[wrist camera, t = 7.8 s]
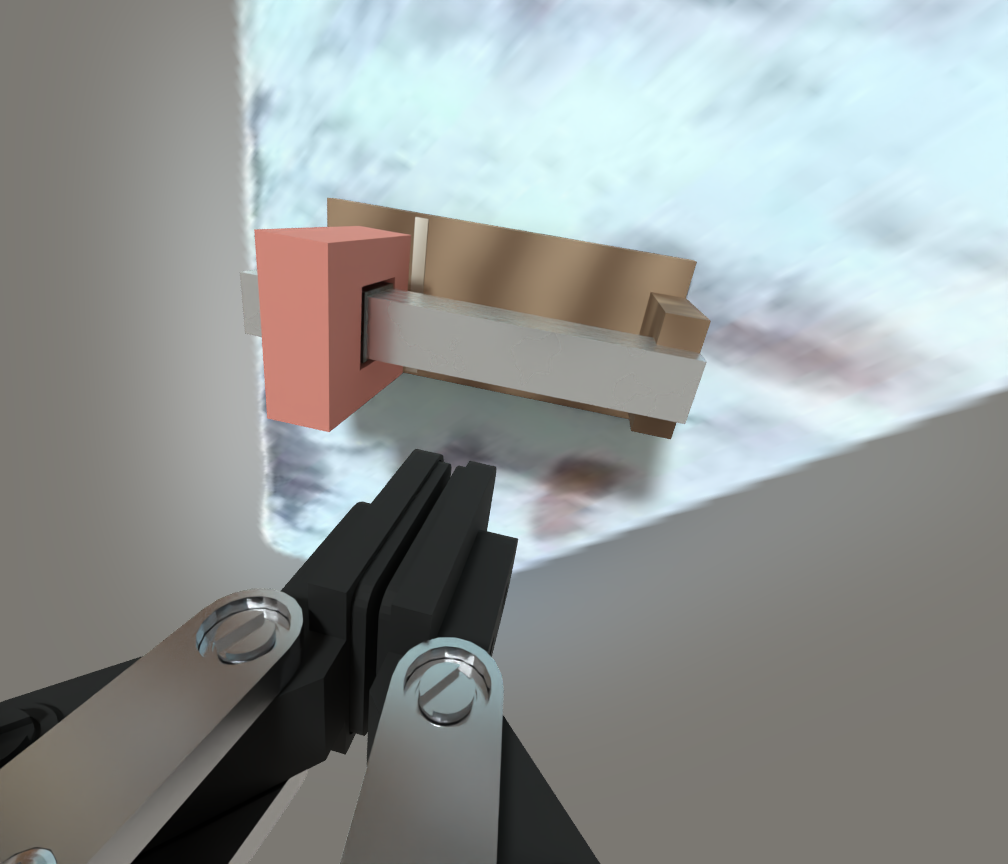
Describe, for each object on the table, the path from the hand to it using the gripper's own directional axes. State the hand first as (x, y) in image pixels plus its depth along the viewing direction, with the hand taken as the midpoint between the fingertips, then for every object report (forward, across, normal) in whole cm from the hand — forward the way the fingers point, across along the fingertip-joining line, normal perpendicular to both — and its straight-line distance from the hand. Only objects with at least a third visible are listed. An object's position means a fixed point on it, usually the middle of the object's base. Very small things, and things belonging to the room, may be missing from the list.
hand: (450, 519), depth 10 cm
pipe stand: (+23, +4, 0) cm, 23 cm away
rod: (+17, +4, 0) cm, 17 cm away
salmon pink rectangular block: (+19, +10, 0) cm, 21 cm away
